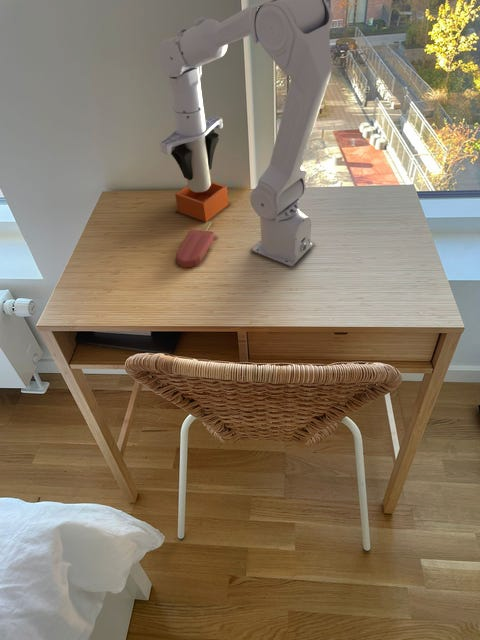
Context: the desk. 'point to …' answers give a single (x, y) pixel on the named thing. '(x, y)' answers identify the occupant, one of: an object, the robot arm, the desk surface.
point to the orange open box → (202, 201)
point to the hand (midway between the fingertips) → (198, 173)
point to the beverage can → (199, 166)
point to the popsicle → (195, 246)
